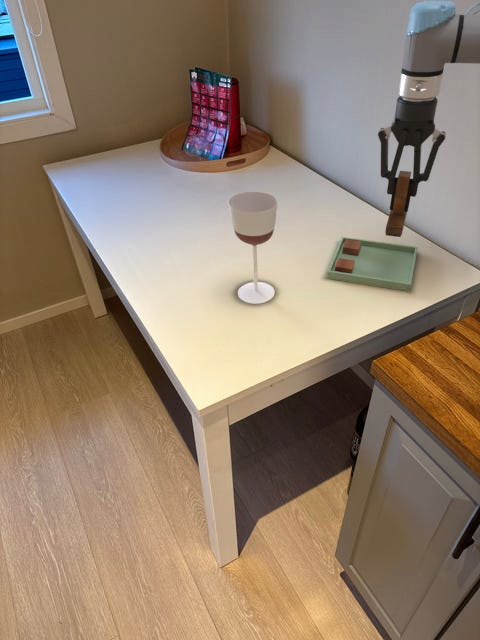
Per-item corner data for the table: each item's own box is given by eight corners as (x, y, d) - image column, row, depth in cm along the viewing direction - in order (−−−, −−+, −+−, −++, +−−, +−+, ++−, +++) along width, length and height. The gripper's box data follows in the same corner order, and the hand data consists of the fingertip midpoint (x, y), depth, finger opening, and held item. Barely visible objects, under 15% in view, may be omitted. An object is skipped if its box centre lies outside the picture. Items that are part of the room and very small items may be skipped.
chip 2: (354, 267, 119) (354, 260, 118) (351, 275, 116) (351, 269, 115) (337, 264, 120) (338, 257, 119) (334, 273, 117) (335, 266, 116)
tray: (416, 253, 123) (417, 246, 122) (409, 291, 111) (411, 284, 110) (341, 243, 129) (341, 236, 128) (326, 278, 117) (327, 271, 115)
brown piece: (407, 209, 115) (416, 162, 108) (401, 237, 105) (410, 187, 98) (392, 207, 116) (400, 160, 109) (384, 235, 106) (392, 186, 99)
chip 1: (360, 248, 126) (361, 241, 124) (357, 256, 123) (358, 249, 121) (345, 246, 127) (345, 239, 126) (342, 253, 124) (342, 247, 123)
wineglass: (245, 277, 119) (240, 189, 104) (283, 286, 115) (284, 196, 100) (228, 298, 112) (220, 207, 98) (267, 308, 109) (266, 215, 94)
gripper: (374, 100, 94) (361, 211, 108) (460, 104, 89) (434, 220, 104) (379, 90, 99) (366, 197, 114) (461, 93, 94) (436, 204, 109)
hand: (399, 208), depth 109 cm, fingers closed on brown piece, 2 cm apart
